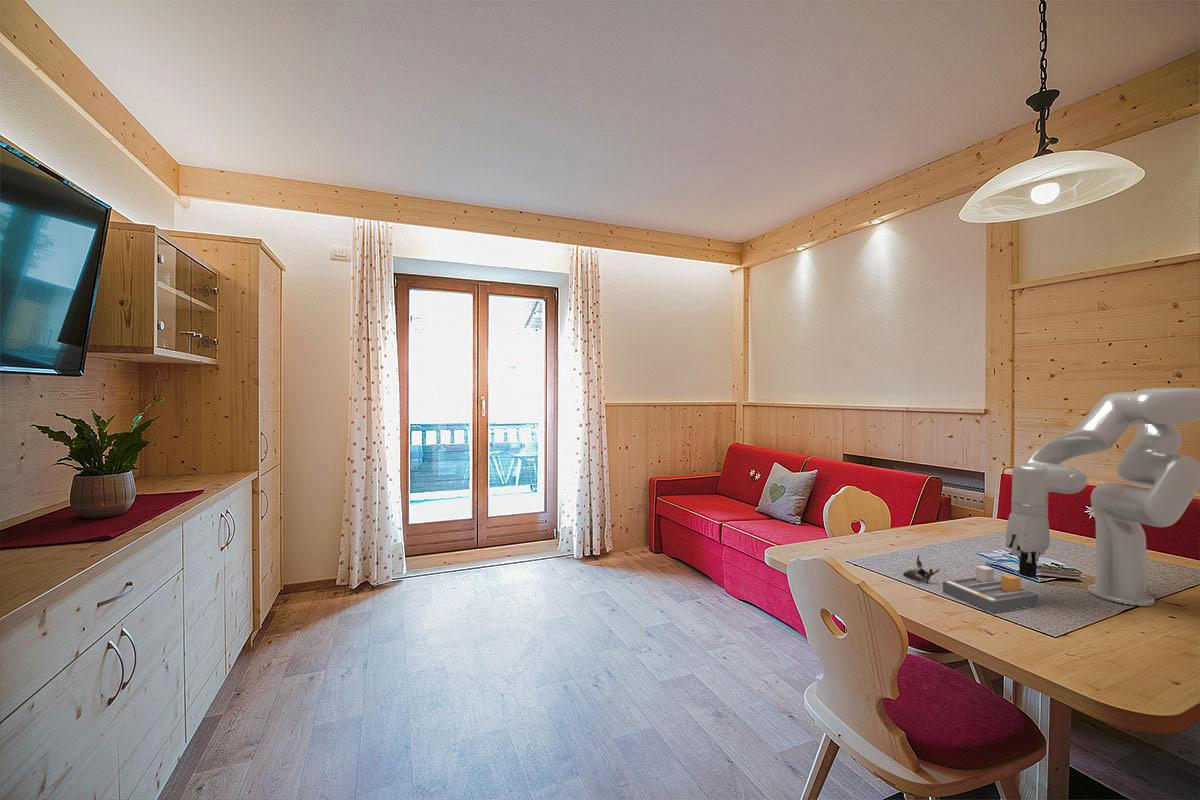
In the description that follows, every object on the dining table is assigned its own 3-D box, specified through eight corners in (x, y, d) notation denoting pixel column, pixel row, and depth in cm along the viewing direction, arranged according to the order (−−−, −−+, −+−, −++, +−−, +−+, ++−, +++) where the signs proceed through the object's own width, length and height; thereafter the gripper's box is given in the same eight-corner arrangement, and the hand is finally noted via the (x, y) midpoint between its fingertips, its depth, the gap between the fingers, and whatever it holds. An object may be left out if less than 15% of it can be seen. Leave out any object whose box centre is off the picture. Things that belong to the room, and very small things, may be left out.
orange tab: (1009, 588, 135) (1009, 574, 134) (1020, 592, 132) (1020, 577, 132) (1001, 589, 134) (1000, 575, 134) (1011, 593, 131) (1011, 579, 131)
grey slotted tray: (986, 585, 144) (986, 573, 144) (1038, 605, 131) (1038, 591, 131) (942, 591, 140) (942, 578, 140) (992, 613, 127) (992, 598, 127)
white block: (984, 578, 141) (983, 565, 141) (993, 582, 139) (993, 568, 139) (975, 580, 141) (975, 566, 141) (985, 583, 138) (985, 569, 138)
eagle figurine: (945, 578, 147) (922, 563, 156) (936, 561, 145) (913, 546, 154) (923, 592, 147) (902, 576, 156) (914, 575, 146) (893, 560, 154)
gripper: (1034, 505, 139) (1033, 568, 140) (994, 507, 136) (992, 572, 136) (1065, 511, 132) (1063, 578, 133) (1023, 514, 129) (1021, 583, 129)
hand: (1027, 575), depth 134 cm, fingers closed
